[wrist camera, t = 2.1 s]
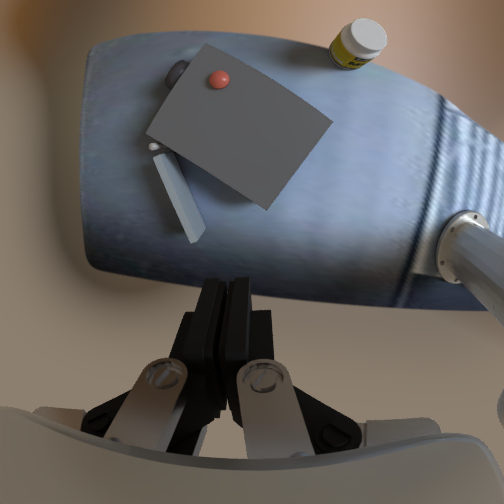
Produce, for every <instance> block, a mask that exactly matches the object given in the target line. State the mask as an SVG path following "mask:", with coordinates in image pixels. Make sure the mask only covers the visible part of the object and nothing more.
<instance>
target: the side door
mask: <svg viewBox="0 0 504 504" xmlns="http://www.w3.org/2000/svg"><path fill="white" fill-rule="evenodd" d="M153 160H154V162H155V165H156V167H157V169H158V172H159V174H160V176H161V179H162V181H163V183H164V186H165V188H166V190H167V192H168V195H169V197H170V199H171V202H172V204H173V206H174V208H175V210H176V213H177V215H178V217H179V219H180V221H181V224H182V226H183V228H184V230H185V231H184V232H185V234H186V236H187V238H188V239H189V241H190V243H193V242H196V241H198V239H199V238H200V236H201V235H202V233H203V232H204V230H205V228H206V226H205V224H204V222H203V220H202V217H201V215H200V213H199V211H198V208H197V206H196V204H195V201H194V199H193V197H192V194H191V192H190V190H189V187H188V185H187V183H186V180H185V178H184V176H183V173H182V171H181V169H180V166H179V164H178V162H177V159H176V157H175V154H174V152H170V153H164V154H159V155H157V156H155V157H154V158H153Z"/></svg>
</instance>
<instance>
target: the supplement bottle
mask: <svg viewBox="0 0 504 504" xmlns="http://www.w3.org/2000/svg"><path fill="white" fill-rule="evenodd" d="M386 44H387V35H386V33H385V31H384V29H383V28H382V27H381V26H380V25H379V24H378V23H376V22H375V21H373V20H370V19H367V18H359V19H356V20H355V21H353V22H352V23H350V24H348V25H346V26H345V27H344V28H343V29H342V30H341V32H340V33H339V34H338V35H337V37H336V38H335V40H334V41H333V42H332V43H331V45H330V47H329V54H330V57H331V59H332V60H333V62H334V63H335V64H336V65H338V66H339V67H341V68H343V69H346V70H356V69H358V68H360V67H362V66H363V65H365V64H366V63H368V62H369V61H371V60H372V59H374V58H375V57H377V56H378V55H379V54H380V52H381V50H382V49H383V48H384V47H385V45H386Z"/></svg>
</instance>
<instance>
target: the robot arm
mask: <svg viewBox="0 0 504 504" xmlns="http://www.w3.org/2000/svg"><path fill="white" fill-rule="evenodd" d="M436 266H437V269H438V272H439V274H440V275H441V276H442V277H443V278H444V279H445V280H446V281H447V282H449V283H453V284H456V283H462V284H463V285H464V286H465V287H466V288H467V289H468V290H469V291H470V292H471V293H472V294H473V295H474V296H475V297H476V298H477V299H478V300H479V301H480V302H481V303H482V304H483V305H484V306H485V307H486V308H487V309H488V310H489V311H490V313H491V314H492V315H493V316H494V317H495V318H496V319H497V320H498V321H499V322H500V323H501V325H502V326H503V327H504V239H503V238H501V237H500V236H498V235H497V234H495V233H493V232H492V231H490V230H489V226H488V223H487V221H486V219H485V218H484V217H483V216H482V215H481V214H479V213H477V212H475V211H472V210H467V211H463V212H460V213H459V214H457V215H455V216H454V217H453V218H452V219H451V220H450V221H449V222H448V224H447V225H446V226H445V228H444V230H443V232H442V234H441V236H440V238H439V241H438V244H437V249H436ZM227 399H228V404H229V408H230V410H231V412H232V416H233V420H234V421H235V422H236V423H237V424H238V425H239V426H240V427H242V428H243V431H244V438H245V444H246V451H247V457H248V459H227V458H210V457H199V452H200V450H201V447H202V444H203V440H204V438H205V435H206V432H207V424H209V423H210V422H212V421H213V420H214V418H220V412H221V410H226V405H227ZM497 413H498V417H499V420H500V422H501V424H502V426H503V428H504V389H503V391H502V393H501V395H500V397H499V399H498V404H497ZM0 504H504V477H503V474H502V472H501V469H500V468H499V465H498V463H497V461H496V459H495V457H494V456H493V454H492V452H491V451H490V450H489V448H488V447H487V446H486V444H485V443H484V442H483V441H481V440H480V439H478V438H477V437H474V436H472V435H467V434H460V433H441V430H440V427H439V425H438V424H437V423H436V422H435V421H434V420H432V419H430V418H423V417H421V418H409V419H393V420H367V421H366V423H356V422H355V421H353V420H352V419H351V418H349V417H347V416H345V415H343V414H341V413H340V412H337V411H336V410H334V409H332V408H331V407H329V406H327V405H325V404H324V403H322V402H320V401H318V400H317V399H315V398H313V397H311V396H310V395H308V394H306V393H305V392H303V391H302V390H300V389H298V388H297V387H295V386H293V385H292V381H291V378H290V375H289V372H288V371H287V369H286V367H284V366H283V365H282V364H281V363H279V362H277V361H275V360H274V348H273V334H272V318H271V310H259V311H258V310H256V311H252V302H251V287H250V277H238V278H235V281H230V282H229V288H228V294H227V286H226V282H221V279H220V278H208V279H205V281H204V284H203V287H202V291H201V293H200V297H199V299H198V303H197V306H196V309H195V312H185V314H184V316H183V319H182V321H181V324H180V327H179V330H178V333H177V335H176V339H175V341H174V344H173V347H172V350H171V352H170V355H169V358H162V359H157V360H155V361H153V362H151V363H150V364H148V365H147V366H146V367H145V368H144V369H143V371H142V373H141V374H140V376H139V378H138V379H137V381H136V383H135V384H134V386H133V388H132V389H131V390H129V391H127V392H125V393H124V394H122V395H119V396H118V397H116V398H114V399H112V400H109V401H107V402H105V403H103V404H102V405H99V406H97V407H95V408H93V409H92V410H90V411H88V413H86V412H85V410H79V409H65V408H54V407H39V408H38V409H36V410H35V411H34V412H33V413H31V412H28V411H25V410H21V409H18V408H12V407H0Z"/></svg>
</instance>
